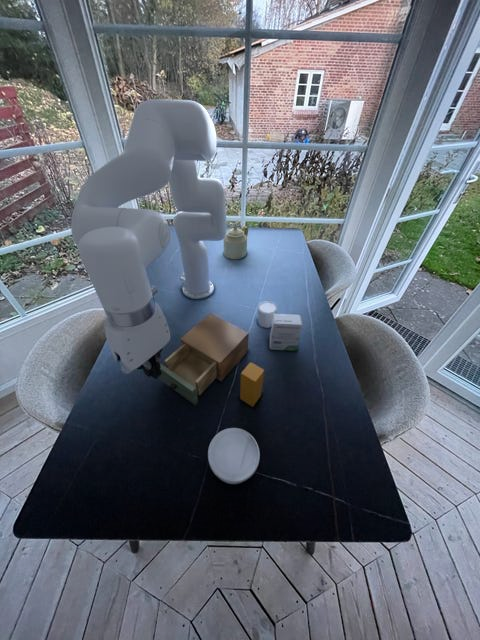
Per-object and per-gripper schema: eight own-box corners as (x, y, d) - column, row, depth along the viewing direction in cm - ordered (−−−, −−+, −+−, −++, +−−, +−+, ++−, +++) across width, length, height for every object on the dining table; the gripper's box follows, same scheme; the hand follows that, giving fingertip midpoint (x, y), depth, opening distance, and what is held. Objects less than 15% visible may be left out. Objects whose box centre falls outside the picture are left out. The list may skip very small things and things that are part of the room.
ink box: (294, 339, 89) (300, 313, 80) (296, 351, 85) (303, 325, 77) (269, 338, 89) (272, 312, 81) (269, 350, 85) (273, 323, 77)
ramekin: (265, 480, 58) (267, 472, 55) (215, 496, 56) (214, 489, 52) (249, 431, 66) (250, 421, 62) (205, 444, 63) (203, 434, 60)
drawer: (192, 408, 69) (189, 394, 64) (156, 382, 75) (151, 367, 70) (224, 373, 77) (223, 358, 73) (190, 351, 83) (187, 336, 78)
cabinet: (221, 381, 76) (220, 363, 70) (183, 357, 82) (179, 338, 76) (247, 351, 84) (248, 332, 78) (212, 332, 90) (210, 313, 84)
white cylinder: (274, 330, 92) (276, 315, 87) (254, 327, 93) (256, 312, 88) (276, 317, 96) (278, 302, 92) (257, 314, 97) (259, 299, 93)
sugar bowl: (226, 243, 136) (225, 214, 126) (247, 245, 135) (249, 216, 125) (222, 258, 125) (221, 228, 115) (245, 260, 125) (246, 229, 114)
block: (239, 398, 72) (240, 373, 64) (248, 387, 75) (250, 361, 67) (252, 407, 71) (255, 381, 62) (261, 395, 73) (264, 369, 65)
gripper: (150, 277, 49) (167, 343, 61) (73, 323, 40) (111, 389, 52) (180, 292, 46) (191, 359, 58) (103, 345, 37) (136, 410, 49)
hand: (153, 373), depth 55 cm, fingers closed
